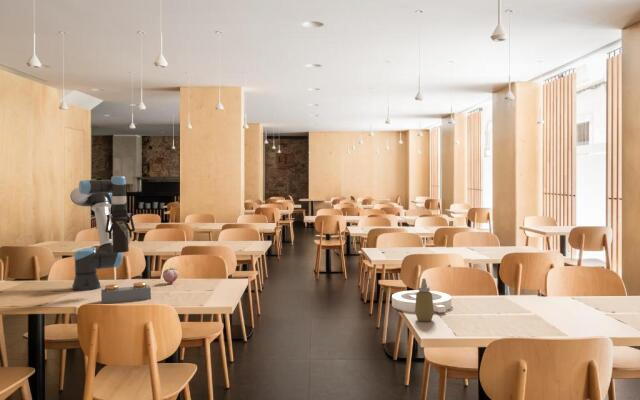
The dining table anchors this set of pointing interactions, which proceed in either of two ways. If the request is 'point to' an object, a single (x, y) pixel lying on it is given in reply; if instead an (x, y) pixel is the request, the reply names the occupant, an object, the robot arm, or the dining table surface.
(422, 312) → the squeeze bottle
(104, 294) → the grey block stand
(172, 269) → the decorative fruit
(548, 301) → the dining table surface
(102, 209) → the robot arm
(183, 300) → the dining table surface
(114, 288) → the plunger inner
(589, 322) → the dining table surface
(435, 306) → the ring with crossbar
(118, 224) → the container
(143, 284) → the gold lidded jar
